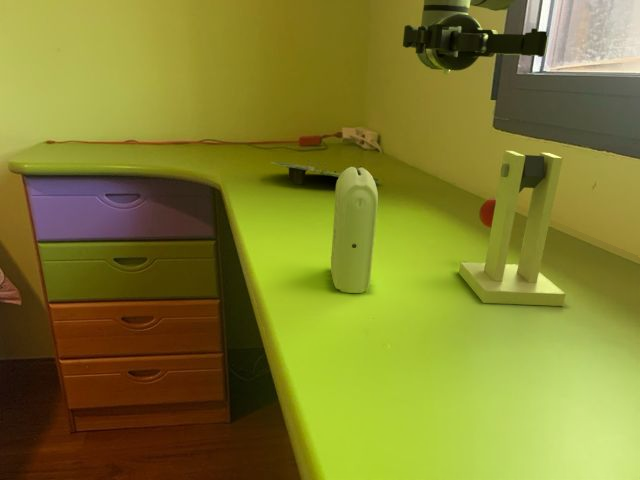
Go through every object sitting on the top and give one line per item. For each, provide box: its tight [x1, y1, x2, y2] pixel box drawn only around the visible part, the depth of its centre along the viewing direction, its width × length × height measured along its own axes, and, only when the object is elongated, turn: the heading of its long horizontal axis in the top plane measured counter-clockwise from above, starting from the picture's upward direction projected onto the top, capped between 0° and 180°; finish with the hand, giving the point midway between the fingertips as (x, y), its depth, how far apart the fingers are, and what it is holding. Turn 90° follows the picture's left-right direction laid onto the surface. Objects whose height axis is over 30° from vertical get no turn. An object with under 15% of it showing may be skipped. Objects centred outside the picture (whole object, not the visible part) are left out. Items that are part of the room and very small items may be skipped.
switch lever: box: [478, 154, 544, 229], centre depth 81 cm, size 15×4×4 cm
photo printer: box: [330, 166, 379, 294], centre depth 77 cm, size 10×4×12 cm, turn 2°
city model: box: [269, 160, 384, 185], centre depth 143 cm, size 25×24×6 cm
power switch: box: [458, 150, 567, 307], centre depth 77 cm, size 12×9×15 cm
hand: (490, 39), depth 89 cm, fingers open, 13 cm apart
